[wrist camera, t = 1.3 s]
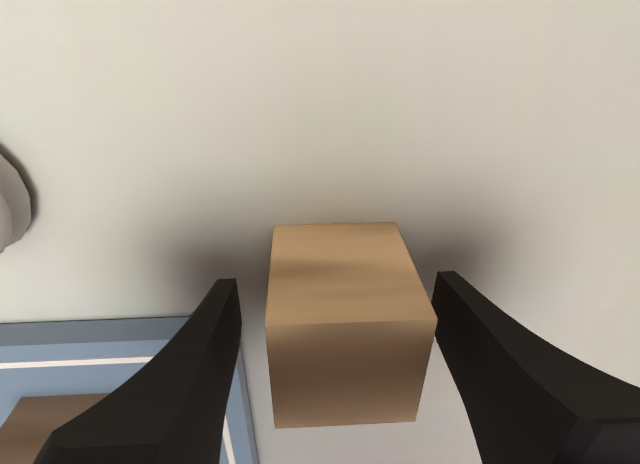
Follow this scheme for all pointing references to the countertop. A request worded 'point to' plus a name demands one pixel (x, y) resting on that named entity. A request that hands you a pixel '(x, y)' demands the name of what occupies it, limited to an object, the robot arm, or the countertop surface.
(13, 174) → the rook chess piece
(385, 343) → the oak block
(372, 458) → the countertop surface
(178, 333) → the robot arm
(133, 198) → the countertop surface
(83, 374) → the board
